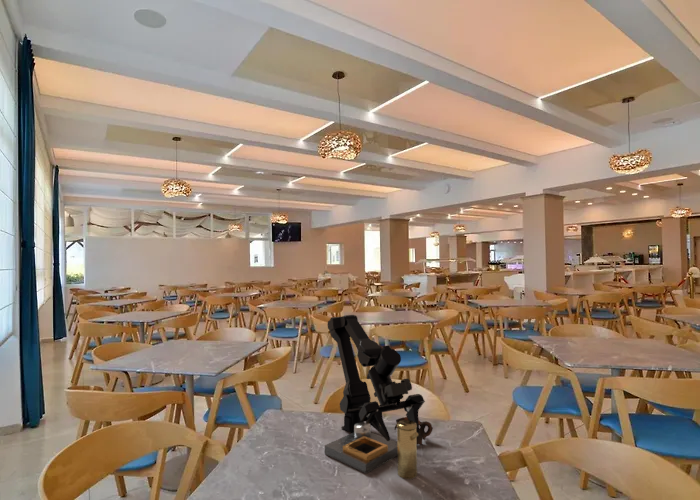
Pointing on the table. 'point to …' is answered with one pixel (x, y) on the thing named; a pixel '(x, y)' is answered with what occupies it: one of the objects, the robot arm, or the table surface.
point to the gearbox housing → (362, 449)
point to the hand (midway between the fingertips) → (403, 437)
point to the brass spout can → (407, 449)
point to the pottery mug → (421, 431)
